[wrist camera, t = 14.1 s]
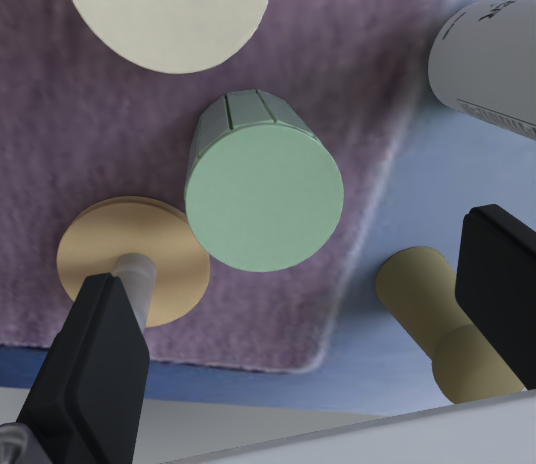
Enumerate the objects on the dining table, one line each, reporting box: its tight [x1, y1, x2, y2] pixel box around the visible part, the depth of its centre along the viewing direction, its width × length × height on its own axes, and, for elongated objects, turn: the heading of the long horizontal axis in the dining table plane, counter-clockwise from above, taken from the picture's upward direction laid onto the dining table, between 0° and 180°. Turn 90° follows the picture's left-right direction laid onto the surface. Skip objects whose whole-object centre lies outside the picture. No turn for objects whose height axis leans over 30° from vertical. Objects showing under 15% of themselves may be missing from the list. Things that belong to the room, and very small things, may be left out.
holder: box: [56, 196, 210, 336], centre depth 22 cm, size 10×10×14 cm
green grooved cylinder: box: [184, 89, 344, 272], centre depth 22 cm, size 7×7×9 cm
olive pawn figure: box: [375, 247, 525, 404], centre depth 27 cm, size 6×6×11 cm
